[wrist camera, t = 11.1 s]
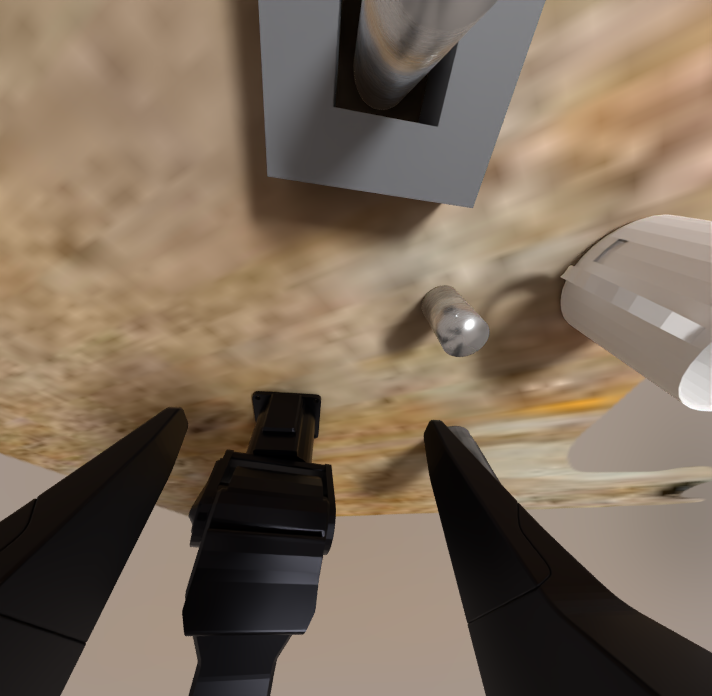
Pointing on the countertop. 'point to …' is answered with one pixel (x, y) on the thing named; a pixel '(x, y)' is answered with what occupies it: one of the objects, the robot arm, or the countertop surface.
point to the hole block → (383, 134)
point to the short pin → (454, 321)
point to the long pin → (407, 43)
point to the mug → (650, 302)
